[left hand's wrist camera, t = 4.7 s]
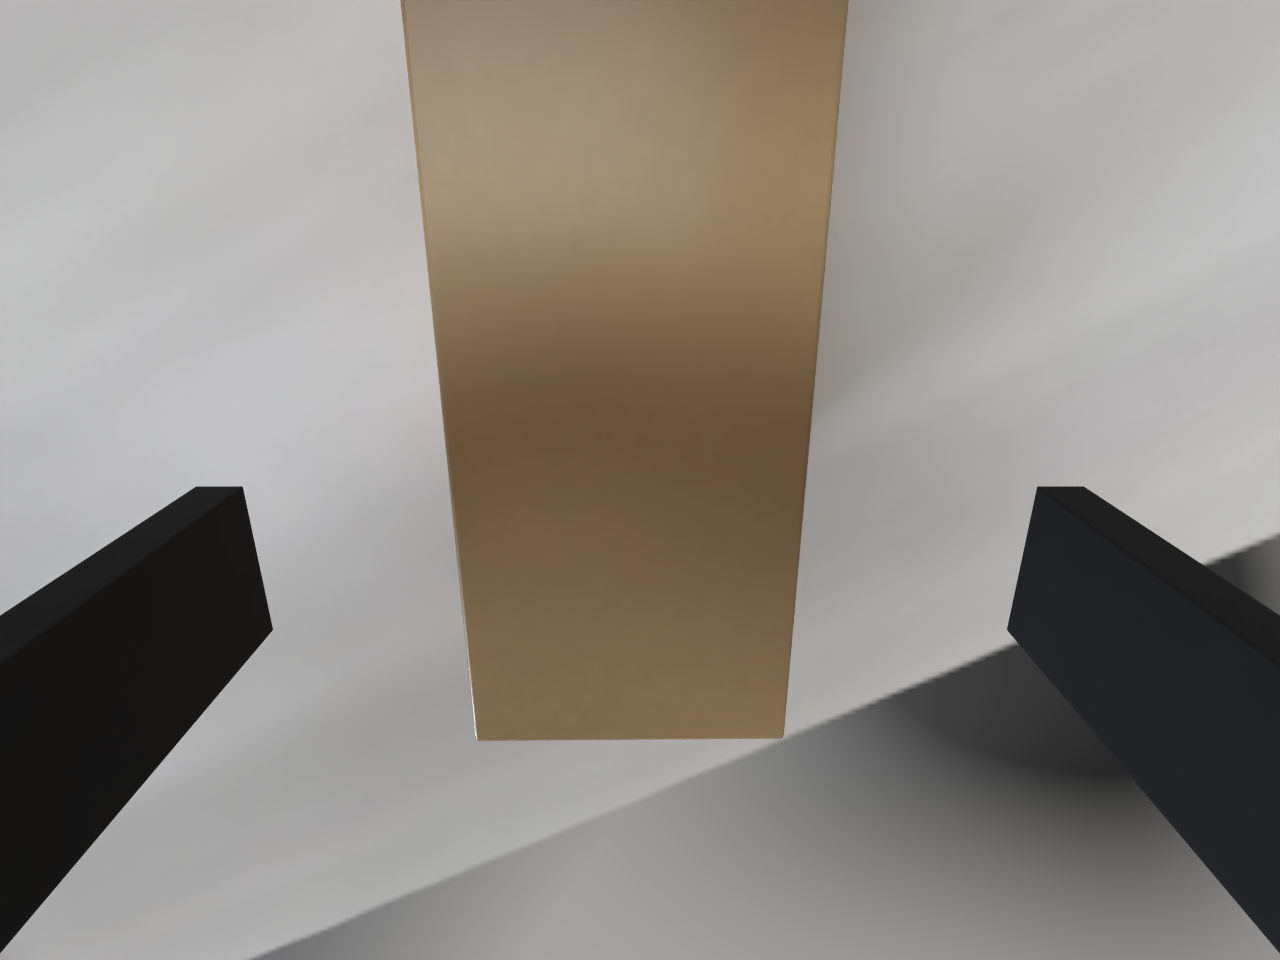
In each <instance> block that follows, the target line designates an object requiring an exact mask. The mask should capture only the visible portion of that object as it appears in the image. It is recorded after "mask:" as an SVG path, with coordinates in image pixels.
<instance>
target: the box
mask: <svg viewBox="0 0 1280 960" xmlns="http://www.w3.org/2000/svg"><path fill="white" fill-rule="evenodd" d="M401 9H402V19H403V28H404V38H405V48H406V58H407V68H408V78H409V88H410V98H411V108H412V117H413V127H414V137H415V147H416V157H417V167H418V177H419V187H420V196H421V206H422V216H423V226H424V236H425V246H426V256H427V266H428V276H429V285H430V295H431V305H432V315H433V325H434V335H435V345H436V355H437V364H438V374H439V384H440V394H441V404H442V414H443V424H444V434H445V444H446V453H447V463H448V473H449V483H450V493H451V503H452V513H453V523H454V532H455V542H456V552H457V562H458V572H459V582H460V592H461V602H462V612H463V621H464V631H465V641H466V651H467V661H468V671H469V681H470V691H471V700H472V710H473V720H474V730H475V738H476V740H478V741H510V740H640V739H770V738H782V737H783V735H784V725H785V713H786V702H787V691H788V679H789V668H790V657H791V645H792V634H793V623H794V611H795V600H796V589H797V577H798V566H799V555H800V543H801V532H802V521H803V509H804V498H805V486H806V475H807V464H808V452H809V441H810V430H811V418H812V407H813V396H814V384H815V373H816V362H817V350H818V339H819V328H820V316H821V305H822V294H823V282H824V271H825V259H826V248H827V237H828V225H829V214H830V203H831V191H832V180H833V169H834V157H835V146H836V135H837V123H838V112H839V101H840V89H841V78H842V67H843V55H844V44H845V32H846V21H847V10H848V0H401Z"/></svg>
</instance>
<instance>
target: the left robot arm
mask: <svg viewBox="0 0 1280 960" xmlns="http://www.w3.org/2000/svg"><path fill="white" fill-rule="evenodd" d="M272 630H273V628H272V623H271V618H270V614H269V609H268V604H267V599H266V595H265V590H264V585H263V580H262V576H261V571H260V566H259V562H258V557H257V552H256V547H255V543H254V538H253V533H252V529H251V524H250V519H249V514H248V510H247V505H246V500H245V495H244V491H243V487H195V488H193V489H192V490H190V491H189V492H187V493H186V494H184V495H183V496H181V497H180V498H178V499H177V500H175V501H174V502H172V503H171V504H169V505H168V506H166V507H165V508H163V509H162V510H160V511H158V512H157V513H155V514H154V515H152V516H151V517H149V518H148V519H146V520H145V521H143V522H142V523H140V524H139V525H137V526H136V527H134V528H133V529H131V530H130V531H128V532H127V533H125V534H124V535H122V536H120V537H119V538H117V539H116V540H114V541H113V542H111V543H110V544H108V545H107V546H105V547H104V548H102V549H101V550H99V551H98V552H96V553H95V554H93V555H92V556H90V557H89V558H87V559H86V560H84V561H82V562H81V563H79V564H78V565H76V566H75V567H73V568H72V569H70V570H69V571H67V572H66V573H64V574H63V575H61V576H60V577H58V578H57V579H55V580H54V581H52V582H51V583H49V584H48V585H46V586H44V587H43V588H41V589H40V590H38V591H37V592H35V593H34V594H32V595H31V596H29V597H28V598H26V599H25V600H23V601H22V602H20V603H19V604H17V605H16V606H14V607H13V608H11V609H10V610H8V611H6V612H5V613H3V614H2V615H0V953H1V952H2V950H3V949H4V948H5V947H6V946H7V945H8V943H9V942H10V941H11V940H12V939H13V937H14V936H15V935H16V934H17V933H18V931H19V930H20V929H21V928H22V927H23V926H24V924H25V923H26V922H27V921H28V920H29V918H30V917H31V916H32V915H33V914H34V913H35V911H36V910H37V909H38V908H39V907H40V905H41V904H42V903H43V902H44V901H45V899H46V898H47V897H48V896H49V895H50V894H51V892H52V891H53V890H54V889H55V888H56V886H57V885H58V884H59V883H60V882H61V881H62V879H63V878H64V877H65V876H66V875H67V873H68V872H69V871H70V870H71V869H72V867H73V866H74V865H75V864H76V863H77V862H78V860H79V859H80V858H81V857H82V856H83V854H84V853H85V852H86V851H87V850H88V849H89V847H90V846H91V845H92V844H93V843H94V841H95V840H96V839H97V838H98V837H99V835H100V834H101V833H102V832H103V831H104V830H105V828H106V827H107V826H108V825H109V824H110V822H111V821H112V820H113V819H114V818H115V816H116V815H117V814H118V813H119V812H120V811H121V809H122V808H123V807H124V806H125V805H126V803H127V802H128V801H129V800H130V799H131V798H132V796H133V795H134V794H135V793H136V792H137V790H138V789H139V788H140V787H141V786H142V784H143V783H144V782H145V781H146V780H147V779H148V777H149V776H150V775H151V774H152V773H153V771H154V770H155V769H156V768H157V767H158V766H159V764H160V763H161V762H162V761H163V760H164V758H165V757H166V756H167V755H168V754H169V752H170V751H171V750H172V749H173V748H174V747H175V745H176V744H177V743H178V742H179V741H180V739H181V738H182V737H183V736H184V735H185V734H186V732H187V731H188V730H189V729H190V728H191V726H192V725H193V724H194V723H195V722H196V720H197V719H198V718H199V717H200V716H201V715H202V713H203V712H204V711H205V710H206V709H207V707H208V706H209V705H210V704H211V703H212V702H213V700H214V699H215V698H216V697H217V696H218V694H219V693H220V692H221V691H222V690H223V688H224V687H225V686H226V685H227V684H228V683H229V681H230V680H231V679H232V678H233V677H234V675H235V674H236V673H237V672H238V671H239V669H240V668H241V667H242V666H243V665H244V664H245V662H246V661H247V660H248V659H249V658H250V656H251V655H252V654H253V653H254V652H255V651H256V649H257V648H258V647H259V646H260V645H261V643H262V642H263V641H264V640H265V639H266V637H267V636H268V635H269V634H270V633H271V632H272ZM1007 630H1008V632H1009V633H1010V634H1011V635H1012V636H1013V637H1014V639H1015V640H1016V641H1017V642H1018V643H1019V645H1020V646H1021V647H1022V648H1023V649H1024V650H1025V652H1026V653H1027V654H1028V655H1029V656H1030V658H1031V659H1032V660H1033V661H1034V662H1035V664H1036V665H1037V666H1038V667H1039V668H1040V669H1041V671H1042V672H1043V673H1044V674H1045V675H1046V677H1047V678H1048V679H1049V680H1050V681H1051V682H1052V684H1053V685H1054V686H1055V687H1056V688H1057V690H1058V691H1059V692H1060V693H1061V694H1062V696H1063V697H1064V698H1065V699H1066V700H1067V702H1068V703H1069V704H1070V705H1071V706H1072V707H1073V709H1074V710H1075V711H1076V712H1077V713H1078V715H1079V716H1080V717H1081V718H1082V719H1083V720H1084V722H1085V723H1086V724H1087V725H1088V726H1089V728H1090V729H1091V730H1092V731H1093V732H1094V733H1095V735H1096V736H1097V737H1098V738H1099V739H1100V741H1101V742H1102V743H1103V744H1104V745H1105V747H1106V748H1107V749H1108V750H1109V751H1110V752H1111V754H1112V755H1113V756H1114V757H1115V758H1116V760H1117V761H1118V762H1119V763H1120V764H1121V766H1122V767H1123V768H1124V769H1125V770H1126V771H1127V773H1128V774H1129V775H1130V776H1131V777H1132V779H1133V780H1134V781H1135V782H1136V783H1137V784H1138V786H1139V787H1140V788H1141V789H1142V790H1143V792H1144V793H1145V794H1146V795H1147V796H1148V798H1149V799H1150V800H1151V801H1152V802H1153V803H1154V805H1155V806H1156V807H1157V808H1158V809H1159V811H1160V812H1161V813H1162V814H1163V815H1164V816H1165V818H1166V819H1167V820H1168V821H1169V822H1170V824H1171V825H1172V826H1173V827H1174V828H1175V830H1176V831H1177V832H1178V833H1179V834H1180V835H1181V837H1182V838H1183V839H1184V840H1185V841H1186V843H1187V844H1188V845H1189V846H1190V847H1191V848H1192V850H1193V851H1194V852H1195V853H1196V854H1197V856H1198V857H1199V858H1200V859H1201V860H1202V862H1203V863H1204V864H1205V865H1206V866H1207V867H1208V869H1209V870H1210V871H1211V872H1212V873H1213V875H1214V876H1215V877H1216V878H1217V879H1218V881H1219V882H1220V883H1221V884H1222V885H1223V886H1224V888H1225V889H1226V890H1227V891H1228V892H1229V894H1230V895H1231V896H1232V897H1233V898H1234V899H1235V901H1236V902H1237V903H1238V904H1239V905H1240V907H1241V908H1242V909H1243V910H1244V911H1245V912H1246V914H1247V915H1248V916H1249V917H1250V918H1251V920H1252V921H1253V922H1254V923H1255V924H1256V925H1257V927H1258V928H1259V929H1260V930H1261V931H1262V933H1263V934H1264V935H1265V936H1266V937H1267V939H1268V940H1269V941H1270V942H1271V943H1272V945H1273V946H1274V947H1275V948H1276V949H1277V950H1278V952H1279V953H1280V615H1278V614H1277V613H1275V612H1273V611H1272V610H1270V609H1269V608H1267V607H1266V606H1264V605H1263V604H1261V603H1260V602H1258V601H1257V600H1255V599H1254V598H1252V597H1251V596H1249V595H1248V594H1246V593H1245V592H1243V591H1242V590H1240V589H1239V588H1237V587H1236V586H1234V585H1232V584H1231V583H1229V582H1228V581H1226V580H1225V579H1223V578H1222V577H1220V576H1219V575H1217V574H1216V573H1214V572H1213V571H1211V570H1210V569H1208V568H1207V567H1205V566H1204V565H1202V564H1201V563H1199V562H1198V561H1196V560H1194V559H1193V558H1191V557H1190V556H1188V555H1187V554H1185V553H1184V552H1182V551H1181V550H1179V549H1178V548H1176V547H1175V546H1173V545H1172V544H1170V543H1169V542H1167V541H1166V540H1164V539H1163V538H1161V537H1160V536H1158V535H1156V534H1155V533H1153V532H1152V531H1150V530H1149V529H1147V528H1146V527H1144V526H1143V525H1141V524H1140V523H1138V522H1137V521H1135V520H1134V519H1132V518H1131V517H1129V516H1128V515H1126V514H1125V513H1123V512H1122V511H1120V510H1118V509H1117V508H1115V507H1114V506H1112V505H1111V504H1109V503H1108V502H1106V501H1105V500H1103V499H1102V498H1100V497H1099V496H1097V495H1096V494H1094V493H1093V492H1091V491H1090V490H1088V489H1087V488H1085V487H1037V491H1036V495H1035V500H1034V505H1033V510H1032V514H1031V519H1030V524H1029V529H1028V533H1027V538H1026V543H1025V547H1024V552H1023V557H1022V562H1021V566H1020V571H1019V576H1018V580H1017V585H1016V590H1015V595H1014V599H1013V604H1012V609H1011V614H1010V618H1009V623H1008V628H1007Z"/></svg>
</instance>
